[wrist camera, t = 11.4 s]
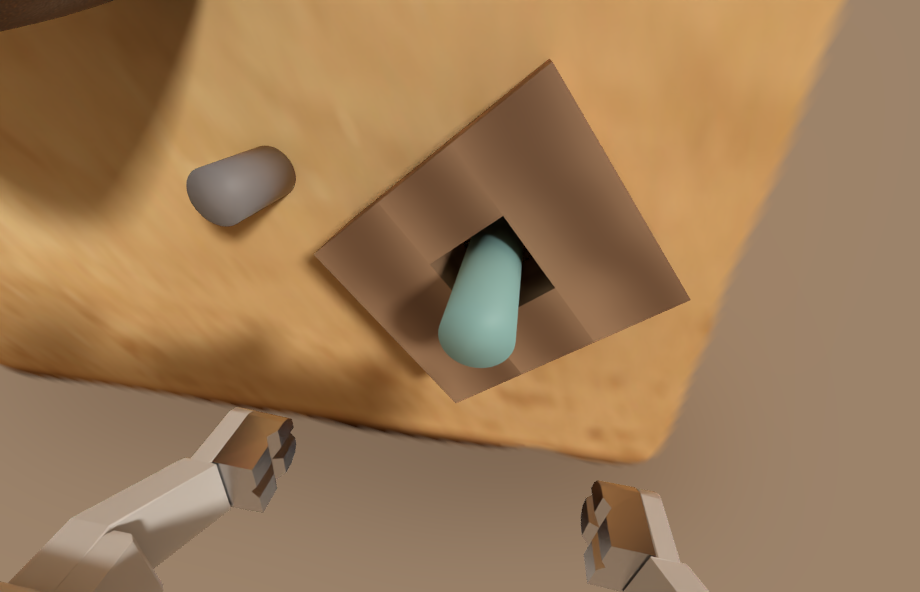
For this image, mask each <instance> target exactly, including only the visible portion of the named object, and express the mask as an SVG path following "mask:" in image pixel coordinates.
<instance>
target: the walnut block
mask: <svg viewBox="0 0 920 592" xmlns="http://www.w3.org/2000/svg"><path fill="white" fill-rule="evenodd" d="M502 216H504V218H505V219H506V220H507V222H508V223H509V225H510V226H511V227H512V229H513V230H514V232H515V233H516V234H517V236H518V237H519V238H520V240H521V241H522V243H523V244H524V245H525V247H526V248H527V249H528V251H529V252H530V254H531V255H532V256H533V257H532V258H530V259H528V260H526V261H525V262H523V263H522V268H521V281H520V293H519V306H518V318H517V331H516V343H515V347H514V350H513V352H512V354H511V355H510V356H509V357H508V358H507V359H506V360H505V361H504V362H502V363H500V364H498V365H496V366H493V367H488V368H474V367H469V366H465V365H463V364H460V363H458V362H457V361H455V360H453V359H452V358H451V357H450V356H449V355H448V354H446V352H445V351H444V350H443V348H442V346H441V344H440V342H439V337H438V329H439V325H440V323H441V320H442V317H443V314H444V311H445V309H446V306H447V303H448V300H449V298H450V295H451V292H452V289H453V286H454V284H455V281H456V278H457V275H458V273H459V270H460V267H461V264H462V261H463V259H464V256H465V253H466V250H467V249H466V248H465V247H464V245H463V244H462V243H463V242H464V241H466V240H467V239H469V238H470V237H472V236H473V235H475V234H476V233H478V232H479V231H481V230H482V229H484V228H485V227H487V226H489V225H490V224H492V223H493V222H495V221H496V220H498V219H499V218H501V217H502ZM313 255H314V256H315V257H316V258H317V259H318V260H319V261H320V262H321V263H322V264H323V265H324V266H325V267H326V268H327V269H328V270H329V271H330V272H331V273H332V274H333V275H334V276H335V278H336V279H337V280H338V281H339V282H340V283H341V284H342V285H343V286H344V287H345V288H346V289H347V290H348V291H349V292H350V293H351V294H352V295H353V296H354V297H355V298H356V299H357V301H358V302H359V303H360V304H361V305H362V306H363V307H364V308H365V309H366V310H367V311H368V312H369V313H370V314H371V315H372V316H373V317H374V318H375V319H376V320H377V321H378V323H379V324H380V325H381V326H382V327H383V328H384V329H385V330H386V331H387V332H388V333H389V334H390V335H391V336H392V337H393V338H394V339H395V340H396V341H397V342H398V343H399V344H400V346H401V347H402V348H403V349H404V350H405V351H406V352H407V353H408V354H409V355H410V356H411V357H412V358H413V359H414V360H415V361H416V362H417V363H418V364H419V365H420V366H421V367H422V369H423V370H424V371H425V372H426V373H427V374H428V375H429V376H430V377H431V378H432V379H433V380H434V381H435V382H436V383H437V384H438V385H439V386H440V387H441V388H442V389H443V390H444V392H445V393H446V394H447V395H448V396H449V397H450V398H451V399H452V400H453V401H454V402H455V403H458V402H460V401H462V400H464V399H467V398H469V397H471V396H473V395H476V394H478V393H480V392H483V391H485V390H487V389H489V388H492V387H494V386H496V385H498V384H501V383H503V382H505V381H508V380H510V379H512V378H514V377H517V376H519V375H521V374H523V373H526V372H528V371H530V370H533V369H535V368H537V367H539V366H542V365H544V364H546V363H548V362H551V361H553V360H555V359H558V358H560V357H562V356H564V355H567V354H569V353H571V352H573V351H576V350H578V349H580V348H583V347H585V346H587V345H589V344H592V343H594V342H596V341H598V340H601V339H603V338H605V337H608V336H610V335H612V334H614V333H617V332H619V331H621V330H623V329H626V328H628V327H630V326H633V325H635V324H637V323H639V322H642V321H644V320H646V319H648V318H651V317H653V316H655V315H658V314H660V313H662V312H664V311H667V310H669V309H671V308H673V307H676V306H678V305H680V304H683V303H685V302H687V301H689V300H690V298H689V296H688V295H687V293H686V291H685V289H684V288H683V286H682V284H681V283H680V281H679V279H678V277H677V276H676V274H675V272H674V270H673V269H672V267H671V265H670V264H669V262H668V260H667V258H666V257H665V255H664V253H663V252H662V250H661V248H660V246H659V245H658V243H657V241H656V239H655V238H654V236H653V234H652V233H651V231H650V229H649V227H648V226H647V224H646V222H645V220H644V219H643V217H642V215H641V214H640V212H639V210H638V208H637V207H636V205H635V203H634V202H633V200H632V198H631V196H630V195H629V193H628V191H627V189H626V188H625V186H624V184H623V183H622V181H621V179H620V177H619V176H618V174H617V172H616V170H615V169H614V167H613V165H612V164H611V162H610V160H609V158H608V157H607V155H606V153H605V152H604V150H603V148H602V146H601V145H600V143H599V141H598V139H597V138H596V136H595V134H594V133H593V131H592V129H591V127H590V126H589V124H588V122H587V120H586V119H585V117H584V115H583V114H582V112H581V110H580V108H579V107H578V105H577V103H576V102H575V100H574V98H573V96H572V95H571V93H570V91H569V89H568V88H567V86H566V84H565V83H564V81H563V79H562V77H561V76H560V74H559V72H558V70H557V69H556V67H555V65H554V64H553V62H552V61H551V60H550V59H549V60H547V61H546V62H545V63H544V64H542V65H541V66H540V67H539V68H537V69H536V70H535V71H534V72H533V73H531V74H530V75H529V76H528V77H526V78H525V79H524V80H523V81H521V82H520V83H519V84H518V85H517V86H515V87H514V88H513V89H512V90H510V91H509V92H508V93H507V94H506V95H504V96H503V97H502V98H501V99H499V100H498V101H497V102H496V103H494V104H493V105H492V106H491V107H490V108H488V109H487V110H486V111H485V112H483V113H482V114H481V115H480V116H478V117H477V118H476V119H475V120H474V121H472V122H471V123H470V124H469V125H467V126H466V127H465V128H464V129H462V130H461V131H460V132H459V133H458V134H456V135H455V136H454V137H453V138H451V139H450V140H449V141H448V142H447V143H445V144H444V145H443V146H442V147H440V148H439V149H438V150H437V151H435V152H434V153H433V154H432V155H431V156H429V157H428V158H427V159H426V160H424V161H423V162H422V163H421V164H419V165H418V166H417V167H416V168H415V169H413V170H412V171H411V172H410V173H408V174H407V175H406V176H405V177H403V178H402V179H401V180H400V181H399V182H397V183H396V184H395V185H394V186H392V187H391V188H390V189H389V190H387V191H386V192H385V193H384V194H383V195H381V196H380V197H379V198H378V199H376V200H375V201H374V202H373V203H372V204H370V205H369V206H368V207H367V208H365V209H364V210H363V211H362V212H360V213H359V214H358V215H357V216H356V217H354V218H353V219H352V220H351V221H350V222H349V223H347V224H346V225H345V226H344V227H343V228H342V229H341V230H340V231H339V232H338V233H336V234H335V235H334V236H333V237H332V238H331V239H330V240H329V241H328V242H327V243H325V244H324V245H323V246H322V247H321V248H320V249H319V250H318V251H317V252H316V253H315V254H313Z"/></svg>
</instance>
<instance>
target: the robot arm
mask: <svg viewBox="0 0 920 592" xmlns="http://www.w3.org/2000/svg"><path fill="white" fill-rule="evenodd" d="M292 429H293V422H292V419H290V418H286V417H281V416H277V415H272V414H268V413H263V412H258V411H255V410H250V409H245V408H240V407H235V408H233V409H232V410H230V411H229V412H228V413H227V414H226V416H225V417H224V418H223V419H222V420H221V422H220V423H219V424H218V425H217V427H216V428H215V429H214V430H213V431H212V433H211V434H210V435H209V436H208V437H207V439H206V440H205V441H204V442H203V443H202V445H201V446H200V447H199V448H198V450H197V451H196V452H195V453H194V454H193V456H192V457H191V458H186V457H184V458H182V459H181V460H179V461H177V462H175V463H173V464H171V465H169V466H168V467H166V468H164V469H162V470H160V471H158V472H156V473H154V474H153V475H151V476H149V477H147V478H145V479H143V480H141V481H139V482H138V483H136V484H134V485H132V486H130V487H128V488H127V489H125V490H123V491H121V492H119V493H117V494H115V495H113V496H111V497H110V498H108V499H106V500H104V501H102V502H100V503H99V504H97V505H95V506H93V507H91V508H89V509H87V510H85V511H83V512H82V513H80V514H78V515H76V516H74V517H72V518H71V519H70V520H69V521H68V522H67V523H66V524H65V525H64V526H63V527H62V528H61V529H60V530H59V531H58V532H57V533H56V534H55V535H54V537H52V538H51V539H50V540H49V541H48V542H47V543H46V545H44V546H43V547H42V548H41V550H40V551H39V552H38V553H37V554H36V555H35V556H34V557H33V558H32V559H31V560H30V561H29V562H28V563H27V564H26V565H25V566H24V567H23V568H22V569H21V570H20V571H19V572H18V573H17V574H16V575H15V576H14V577H13V578H12V579H11V580H10V581H9V583H5V582H1V581H0V592H163V584H162V582H161V580H160V579H159V577H158V576H157V574H156V573H155V571H154V570H153V569H154V568H155V567H156V566H158V565H159V564H160V563H162V562H163V561H164V560H166V559H167V558H168V557H169V556H171V555H172V554H173V553H175V552H176V551H177V550H178V549H180V548H181V547H182V546H184V545H185V544H186V543H187V542H189V541H190V540H191V539H193V538H194V537H195V536H196V535H198V534H199V533H200V532H202V531H203V530H204V529H205V528H207V527H208V526H210V525H211V524H212V523H213V522H215V521H216V520H217V519H219V518H220V517H221V516H222V515H224V514H225V513H226V512H228V511H229V510H230V509H231V507H235V508H240V509H246V510H251V511H256V512H262V513H263V512H264V510H265V509H266V507H267V505H268V504H269V502H270V500H271V498H272V497H273V495H274V493H275V491H276V489H277V484H276V479H277V478H279V477H281V476H282V475H284V474H285V473H286V472H287V470H288V468H289V466H290V465H291V463H292V460H293V457H294V454H295V449H296V440H295V437H294V436H293V435H292V434H291V433H290V432H291V430H292ZM591 490H592V495H591V496H589V497H587V498H586V499H585V501H584V504H583V507H582V512H581V532H582V537H583V538H584V539H585V541H586V542H587V544H588V545H589V546H588V548H587V550H586V551H585V553H584V558H585V568H586V576H587V583H588V584H592V585H596V586H600V587H604V588H608V589H612V590H616V591H620V592H709V591H708V589H707V588H706V587H705V586H704V585H703V583H702V582H701V581H700V580H699V578H698V577H697V576H696V575H695V573H694V572H693V571H692V570H691V569H690V567H689V566H688V565H687V564H685V563H681V562H680V559H679V556H678V553H677V550H676V546H675V543H674V539H673V536H672V533H671V530H670V526H669V523H668V520H667V517H666V513H665V510H664V507H663V503H662V500H661V497H660V496H659V494H658V493H656V492H653V491H648V490H642V489H637V488H635V487H630V486H625V485H619V484H614V483H609V482H603V481H596V482H594V484H593V486H592V487H591Z"/></svg>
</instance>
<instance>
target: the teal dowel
mask: <svg viewBox="0 0 920 592" xmlns="http://www.w3.org/2000/svg"><path fill="white" fill-rule="evenodd" d="M522 255H523V243H522V241H521V240H520V238H519V237H518V236H517V234H516V233H515V232H514V230H513V229H512V227H511V226H510V225H509V223H508V222H507V220H506V219H505V218H504V216H502V217H501V218H499V219H498V220H496V221H495V222H493V223H492V224H490V225H489V226H487V227H485V228H484V229H482V230H481V231H479V232H478V233H476V234H475V235H473V236H472V237H471V239H470V242H469V245H468V248H467V250H466V253H465V256H464V259H463V261H462V264H461V267H460V270H459V273H458V275H457V278H456V281H455V284H454V286H453V289H452V292H451V295H450V298H449V300H448V303H447V306H446V309H445V311H444V314H443V317H442V320H441V323H440V325H439V329H438V337H439V342H440V344H441V346H442V348H443V350H444V351H445V352H446V354H448V355H449V356H450V357H451V358H452V359H453V360H455V361H457V362H458V363H460V364H463V365H465V366H469V367H474V368H488V367H493V366H496V365H498V364H500V363H502V362H504V361H505V360H506V359H507V358H508V357H509V356H510V355H511V354H512V352H513V350H514V347H515V343H516V331H517V318H518V306H519V293H520V281H521V268H522Z"/></svg>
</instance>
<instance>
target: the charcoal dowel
mask: <svg viewBox="0 0 920 592" xmlns="http://www.w3.org/2000/svg"><path fill="white" fill-rule="evenodd" d="M295 181H296V176H295V171H294V168H293V166H292V164H291V162H290V160H289V159H288V158H287V157H286V156H285V155H284V154H283V153H282V152H281V151H279V150H278V149H276V148H273V147H270V146H259V147H257V148H254V149H251V150H248V151H245V152H242V153H239V154H236V155H234V156H231V157H228V158H225V159H222V160H219V161H216V162H213V163H211V164H208V165H205V166H202V167H199V168H197V169H195V170H193V171H192V172H191V173H190V174H189V176H188V179H187V193H188V196H189V199H190V201H191V203H192V204H193V206H194V207H195V209H196V210H197V211H198V212H199V213H200V214H201V215H202V216H203V217H204V218H205V219H207V220H208V221H210V222H212V223H214V224H217V225H220V226H233V225H235V224H237V223H239V222H240V221H242V220H244V219H246V218H247V217H249V216H251V215H253V214H254V213H256V212H258V211H259V210H261V209H263V208H265V207H266V206H268V205H270V204H272V203H273V202H275V201H277V200H279V199H280V198H282V197H284V196H285V195H287V194H289V193H290V192H291V191H292V190H293V188H294V186H295Z"/></svg>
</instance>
